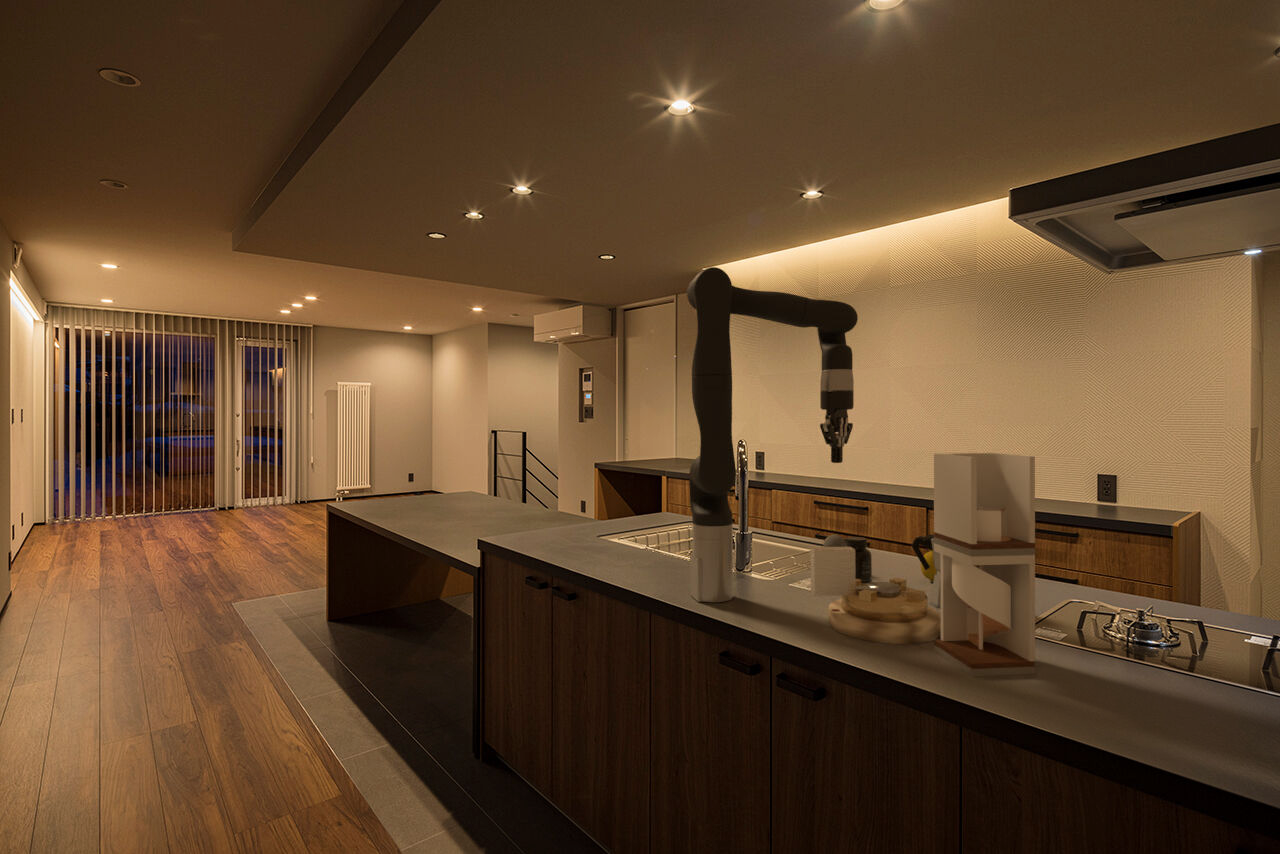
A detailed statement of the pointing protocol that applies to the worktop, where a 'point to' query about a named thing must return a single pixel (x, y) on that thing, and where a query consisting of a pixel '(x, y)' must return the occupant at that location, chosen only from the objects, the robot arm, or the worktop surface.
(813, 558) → the gold stand with panel
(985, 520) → the white tower model
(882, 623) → the cap plate
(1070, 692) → the worktop surface
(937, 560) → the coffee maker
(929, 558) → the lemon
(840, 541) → the light bulb
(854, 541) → the supplement bottle
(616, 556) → the worktop surface
